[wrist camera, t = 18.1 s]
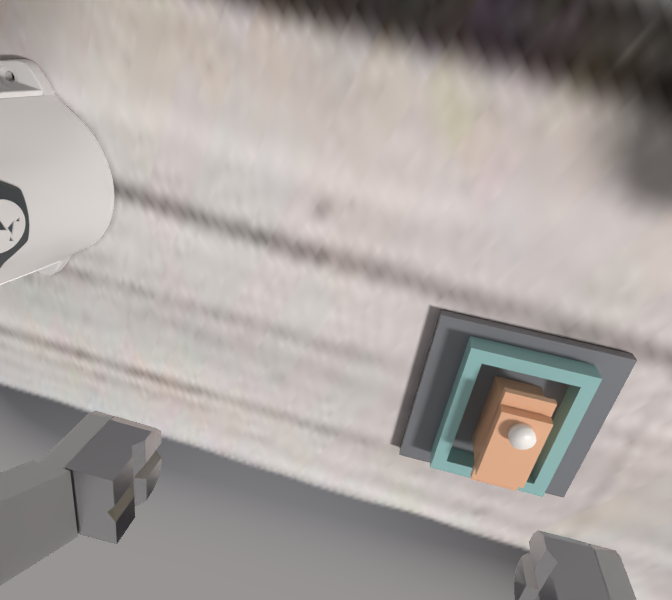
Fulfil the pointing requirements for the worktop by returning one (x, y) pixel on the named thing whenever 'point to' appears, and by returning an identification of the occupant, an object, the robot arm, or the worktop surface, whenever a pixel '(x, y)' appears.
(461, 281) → the worktop surface
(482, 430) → the block
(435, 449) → the plate
